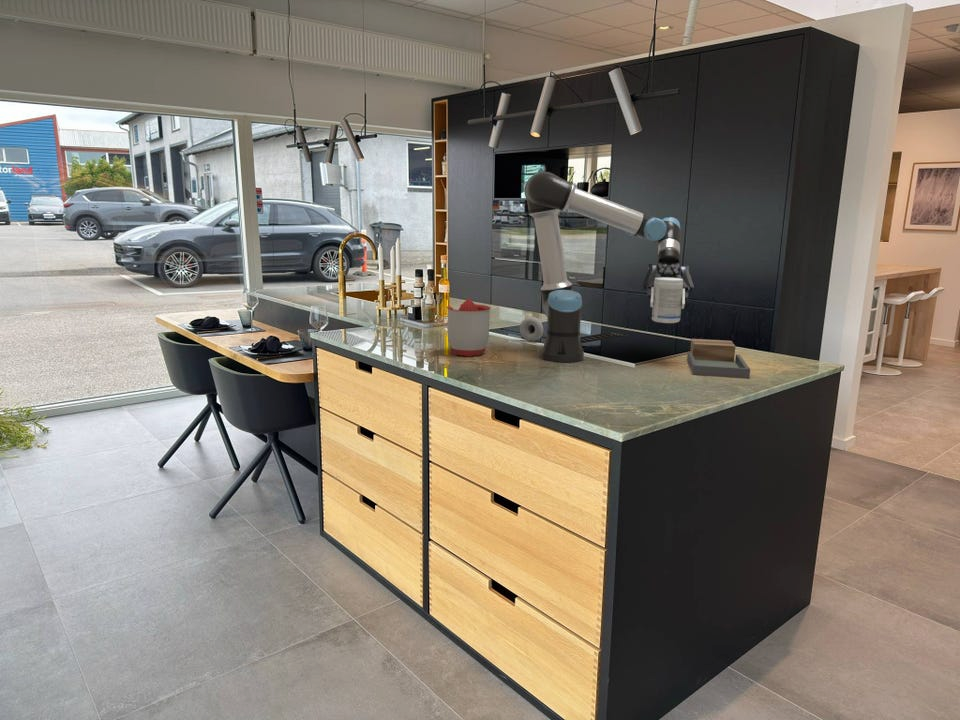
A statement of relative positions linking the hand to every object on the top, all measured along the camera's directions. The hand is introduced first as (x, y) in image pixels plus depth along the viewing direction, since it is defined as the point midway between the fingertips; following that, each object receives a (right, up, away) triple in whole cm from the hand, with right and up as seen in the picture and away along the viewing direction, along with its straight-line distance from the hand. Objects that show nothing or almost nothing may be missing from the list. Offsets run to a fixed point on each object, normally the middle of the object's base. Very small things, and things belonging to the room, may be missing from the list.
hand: (667, 305), depth 229 cm
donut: (-43, -11, +40) cm, 60 cm away
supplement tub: (0, -5, +4) cm, 7 cm away
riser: (+20, -18, +15) cm, 31 cm away
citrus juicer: (-68, -16, +18) cm, 72 cm away
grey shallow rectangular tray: (+17, -21, +1) cm, 27 cm away
